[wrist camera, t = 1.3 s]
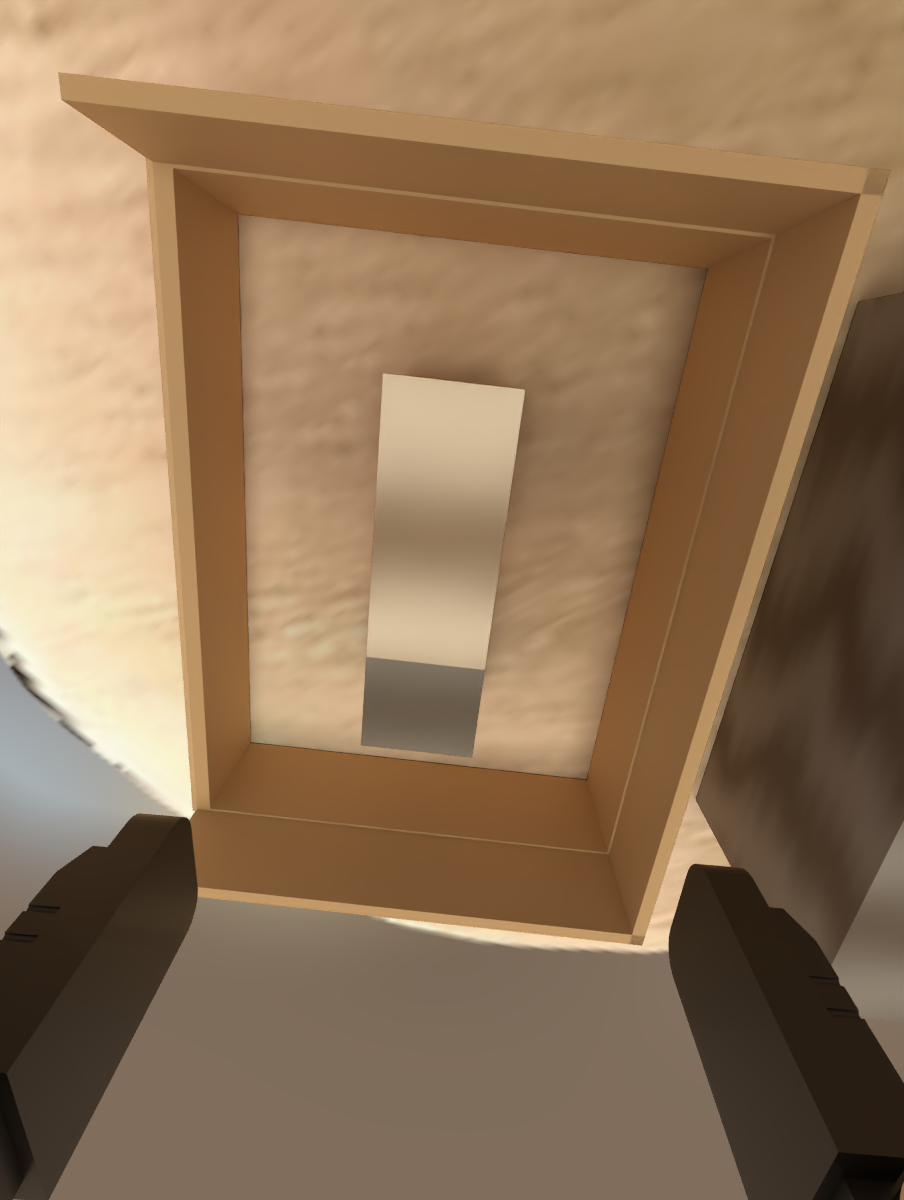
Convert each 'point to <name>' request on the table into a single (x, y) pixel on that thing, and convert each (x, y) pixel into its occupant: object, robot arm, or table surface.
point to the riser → (831, 687)
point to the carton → (674, 531)
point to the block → (436, 558)
